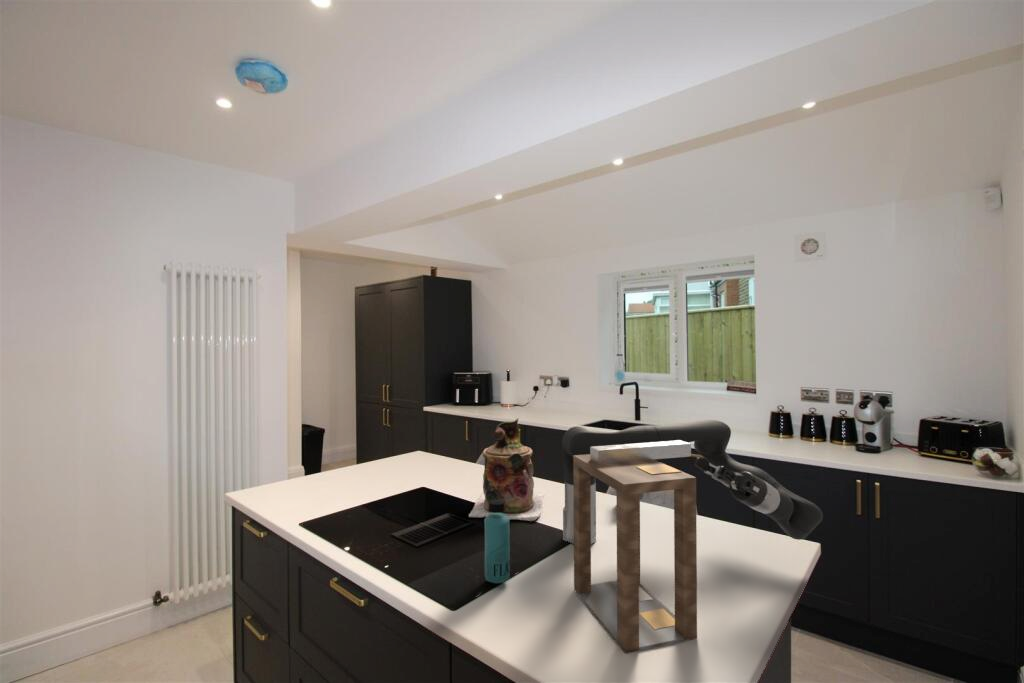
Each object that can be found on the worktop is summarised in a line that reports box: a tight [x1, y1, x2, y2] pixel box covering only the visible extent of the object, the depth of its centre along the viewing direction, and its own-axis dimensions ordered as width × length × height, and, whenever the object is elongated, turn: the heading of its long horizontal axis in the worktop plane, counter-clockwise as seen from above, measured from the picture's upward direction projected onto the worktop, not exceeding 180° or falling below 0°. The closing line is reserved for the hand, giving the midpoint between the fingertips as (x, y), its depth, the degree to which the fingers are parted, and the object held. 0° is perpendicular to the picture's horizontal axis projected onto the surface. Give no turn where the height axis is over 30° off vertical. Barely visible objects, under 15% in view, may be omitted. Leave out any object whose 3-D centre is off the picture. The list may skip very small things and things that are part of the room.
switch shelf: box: [573, 454, 698, 654], centre depth 103 cm, size 16×24×32 cm, turn 16°
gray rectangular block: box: [590, 440, 692, 464], centre depth 110 cm, size 24×4×3 cm, turn 106°
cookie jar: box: [468, 418, 546, 522], centre depth 168 cm, size 25×25×32 cm
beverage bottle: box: [483, 500, 511, 584], centre depth 116 cm, size 6×7×20 cm
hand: (707, 465), depth 115 cm, fingers open, 8 cm apart
